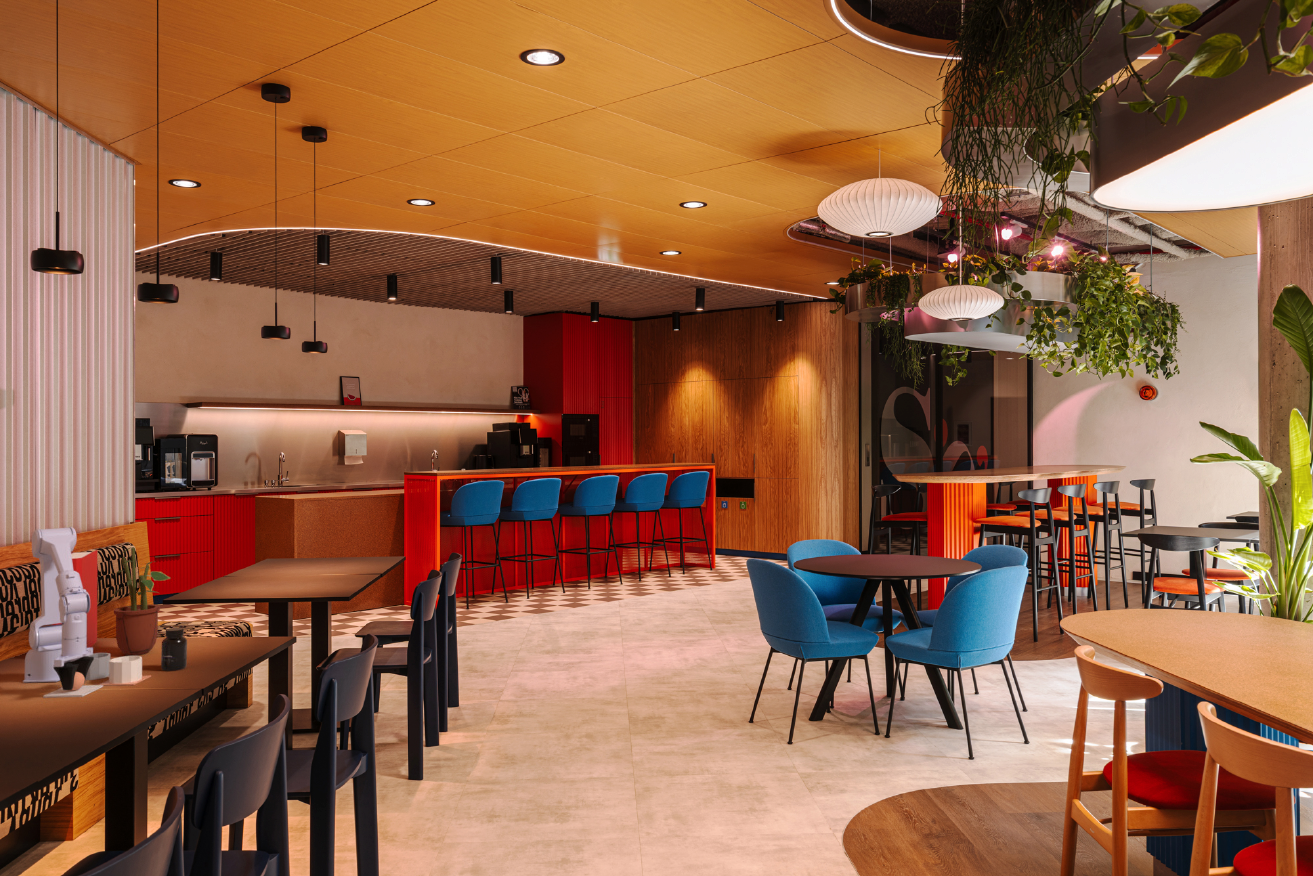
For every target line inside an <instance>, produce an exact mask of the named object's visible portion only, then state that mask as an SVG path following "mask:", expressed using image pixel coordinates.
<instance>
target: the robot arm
mask: <svg viewBox="0 0 1313 876" xmlns="http://www.w3.org/2000/svg"><path fill="white" fill-rule="evenodd" d="M76 545H77V532H76V529H75V528H74V527H72V526H69V527H58V528H57V527H55V528H42V529H40V528H36V529H35V530H34V531H33V532H32V536H31V554H32V558H36V559H38V560H39V565H40V598H41V600H40V601H41V605H40V606H41V609H40V610H41V614H40V615H39V616H38V617H36V618H35V619H34V620H33V621H31V622H30V624H29V632H28V643H29V646H30V648H31V649H29V650H28V651H27V653H26V655H25V658H24V680H22V682H23V683H52V682H53V683H57V682H59V681H60V684H61V688H63V690H72V689H73V685H74V677H75V673H76V672H79V673H81V674H83V676H84V678H85V682H84V684H85V683H86V681H87V680H86V676H87V672H88V670H89V667H90V665H91V663H92V662H93V660H94V657H88V656H89V655H92V654H94V647H91V648H86V642H87V614H86V613H88V612H89V610H90V597H89V594H88V592H86V590H85V589H83V586H82V582H81V579H80V575H79V573H78V572H76V571H73V563H72V556H71V551H72V552H74V548H75V547H76ZM56 623H62V624H59V625H52V624H56Z"/></svg>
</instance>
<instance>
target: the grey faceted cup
mask: <svg viewBox="0 0 1313 876" xmlns="http://www.w3.org/2000/svg"><path fill="white" fill-rule="evenodd" d="M88 657H94V660H93V662H92V663H91V665H90V667H89V670H88V672H87V676H86V680H85V681H92V680H93V681H94V680H100V679H104V678H109V660H111V653H108V652H95V653H94V652H93V654H92V655H89V656H88Z"/></svg>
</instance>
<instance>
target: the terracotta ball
mask: <svg viewBox="0 0 1313 876" xmlns="http://www.w3.org/2000/svg"><path fill="white" fill-rule="evenodd" d="M84 682H85V683H86V680H85V678H84V676H83V674H81V673H79V672H76V673H75V677H74V685H73V689H72V690H70V691H74V690H78V689H79V688H81V687H82V686H83V685H84V684H85V683H84Z"/></svg>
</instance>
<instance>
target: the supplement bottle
mask: <svg viewBox="0 0 1313 876" xmlns="http://www.w3.org/2000/svg"><path fill="white" fill-rule="evenodd" d="M184 635H185V631H184V628H182V627H173V628H171V627H169V628H166V629H165V638H163V639H162V640H161V652H160V653H161V655H160V656H161V657H160V659H161V661H160V662H161V663H160V667H161V670H162V671H163V672H164V671H165V672H173V671H174V672H176V671H181V670H184V669H186V667H187V665H188V663H187V662H188V661H187V658H188V639H187V638H186V637H185V636H184Z"/></svg>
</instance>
